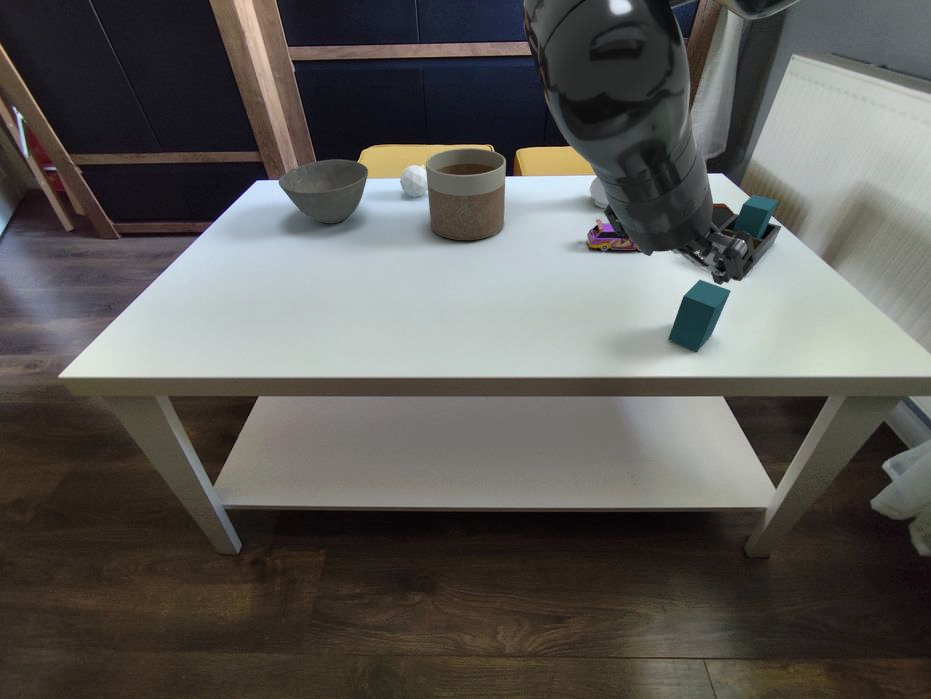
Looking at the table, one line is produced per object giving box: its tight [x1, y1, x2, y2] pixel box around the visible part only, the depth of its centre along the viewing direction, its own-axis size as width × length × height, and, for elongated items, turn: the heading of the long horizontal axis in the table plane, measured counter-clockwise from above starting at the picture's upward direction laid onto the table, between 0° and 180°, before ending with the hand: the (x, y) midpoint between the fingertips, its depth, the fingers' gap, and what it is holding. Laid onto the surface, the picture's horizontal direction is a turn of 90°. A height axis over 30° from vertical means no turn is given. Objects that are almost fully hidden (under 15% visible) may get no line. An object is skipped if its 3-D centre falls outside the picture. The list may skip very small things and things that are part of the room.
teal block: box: [667, 279, 732, 353], centre depth 66 cm, size 4×6×8 cm
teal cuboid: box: [733, 194, 779, 239], centre depth 86 cm, size 4×6×8 cm
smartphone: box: [711, 202, 735, 229], centre depth 97 cm, size 7×1×15 cm
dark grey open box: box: [697, 213, 782, 278], centre depth 86 cm, size 9×16×4 cm, turn 137°
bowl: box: [278, 158, 369, 224], centre depth 100 cm, size 19×19×10 cm
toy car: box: [586, 219, 642, 252], centre depth 88 cm, size 6×12×5 cm, turn 86°
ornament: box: [399, 164, 428, 198], centre depth 109 cm, size 7×7×8 cm
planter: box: [425, 147, 507, 241], centre depth 94 cm, size 16×16×14 cm
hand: (685, 261), depth 51 cm, fingers open, 8 cm apart
